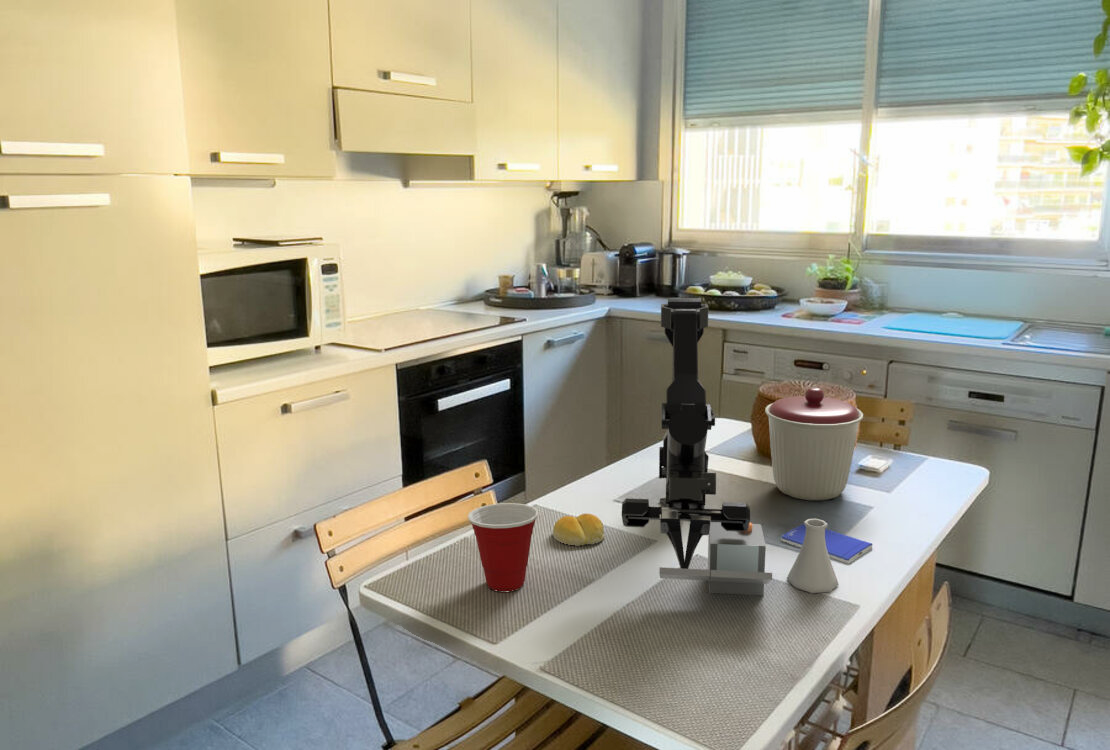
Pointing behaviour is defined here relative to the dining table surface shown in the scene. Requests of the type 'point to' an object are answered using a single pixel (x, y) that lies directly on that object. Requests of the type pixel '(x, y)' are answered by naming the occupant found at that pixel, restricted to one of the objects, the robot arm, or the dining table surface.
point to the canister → (812, 444)
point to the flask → (813, 561)
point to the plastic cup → (504, 542)
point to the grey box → (736, 557)
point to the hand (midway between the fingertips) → (684, 571)
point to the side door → (716, 575)
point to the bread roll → (579, 530)
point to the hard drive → (831, 543)
